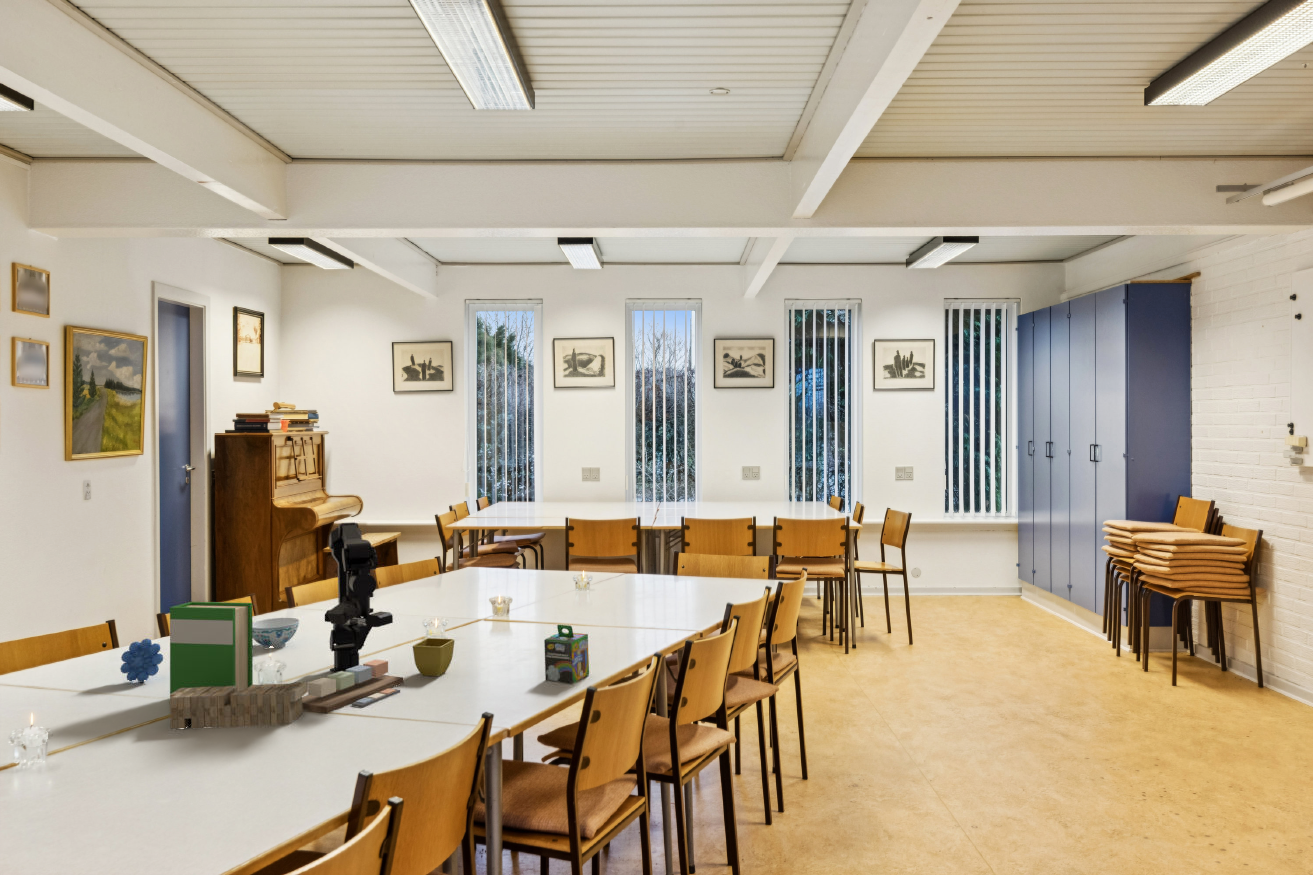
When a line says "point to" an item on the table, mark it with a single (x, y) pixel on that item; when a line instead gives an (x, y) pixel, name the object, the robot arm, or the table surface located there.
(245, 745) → the table surface
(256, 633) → the chinaware
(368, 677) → the key slate
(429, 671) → the flower pot
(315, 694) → the key cream
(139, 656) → the blue flower ornament
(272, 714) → the block tower
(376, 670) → the key terracotta
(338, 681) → the key sage
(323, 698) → the brown wooden board
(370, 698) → the strip
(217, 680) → the hardback book
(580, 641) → the chalk box
